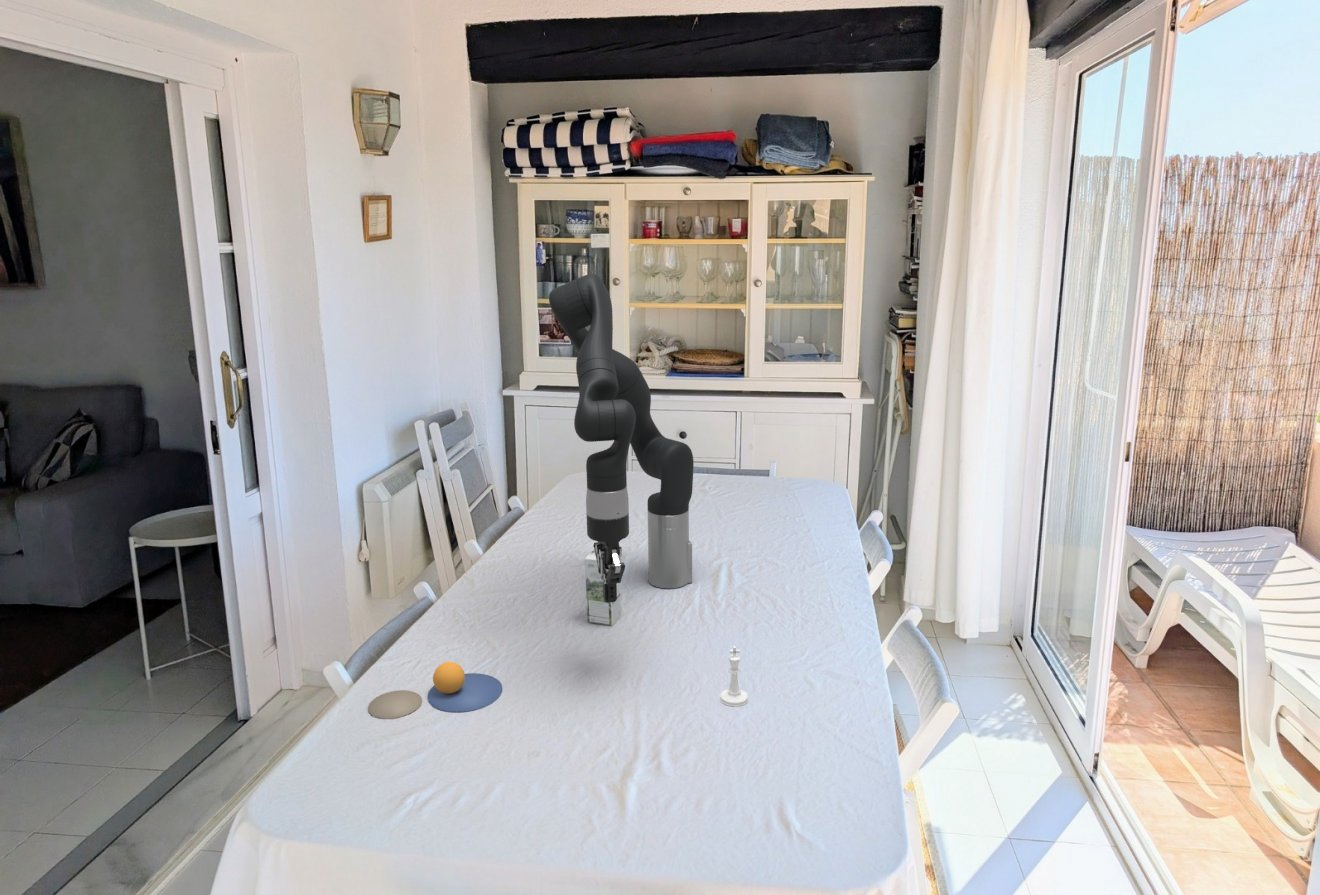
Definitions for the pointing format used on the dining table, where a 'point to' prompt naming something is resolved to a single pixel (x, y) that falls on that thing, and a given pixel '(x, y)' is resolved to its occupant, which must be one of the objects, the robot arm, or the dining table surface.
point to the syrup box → (599, 596)
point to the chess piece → (734, 684)
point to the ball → (448, 677)
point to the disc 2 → (467, 694)
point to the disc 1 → (395, 704)
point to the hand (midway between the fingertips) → (610, 600)
